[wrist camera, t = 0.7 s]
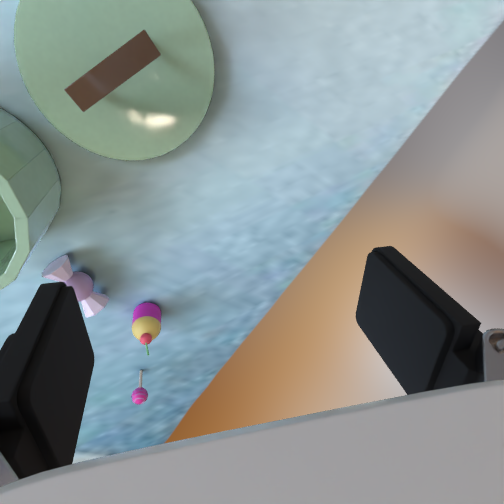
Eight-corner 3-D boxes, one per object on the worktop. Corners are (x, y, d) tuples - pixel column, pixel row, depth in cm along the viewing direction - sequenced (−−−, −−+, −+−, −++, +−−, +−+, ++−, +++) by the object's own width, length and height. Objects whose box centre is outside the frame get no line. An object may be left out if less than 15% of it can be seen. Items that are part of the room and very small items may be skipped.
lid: (-29, 30, 24) (-86, 24, 18) (133, -100, 22) (123, -148, 17) (115, 187, 31) (105, 217, 25) (244, 96, 29) (263, 108, 24)
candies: (25, 276, 33) (0, 318, 28) (97, 235, 33) (86, 270, 27) (139, 378, 43) (136, 423, 38) (196, 348, 42) (201, 389, 37)
